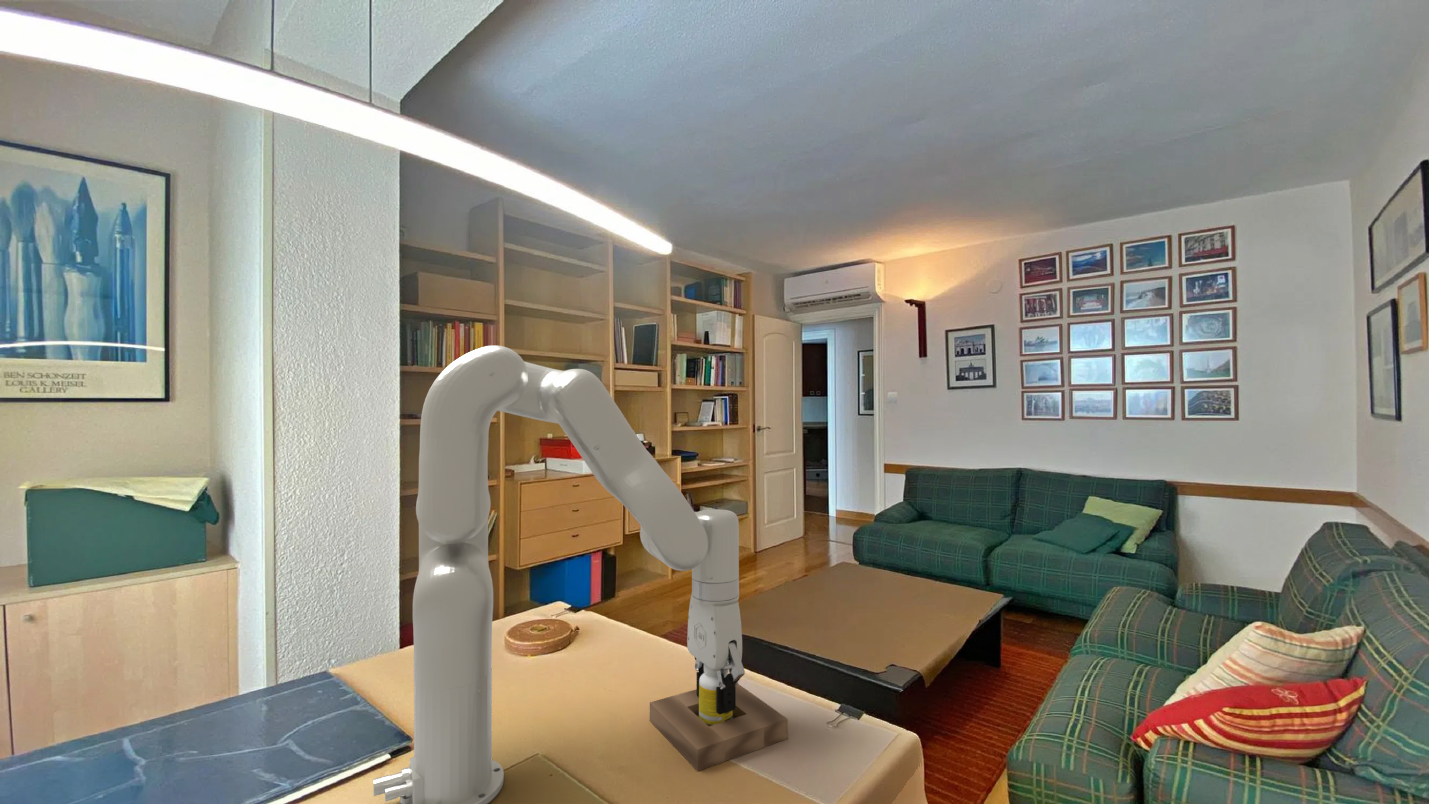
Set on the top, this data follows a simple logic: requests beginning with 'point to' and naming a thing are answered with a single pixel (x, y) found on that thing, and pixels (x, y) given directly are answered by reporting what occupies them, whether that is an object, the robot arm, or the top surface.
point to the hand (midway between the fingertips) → (715, 701)
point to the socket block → (717, 728)
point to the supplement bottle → (710, 698)
